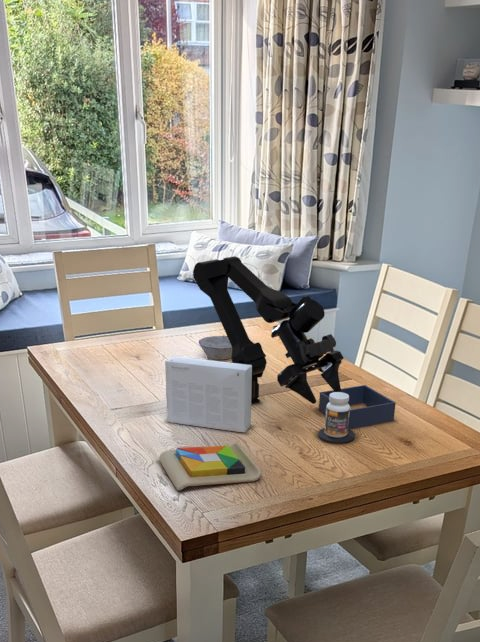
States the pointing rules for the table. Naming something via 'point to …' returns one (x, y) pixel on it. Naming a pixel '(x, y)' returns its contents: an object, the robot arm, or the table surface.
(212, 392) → the skincare box
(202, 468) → the wooden puzzle
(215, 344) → the bowl
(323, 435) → the coaster
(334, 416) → the pill bottle
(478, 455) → the table surface
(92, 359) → the table surface
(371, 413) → the open box
